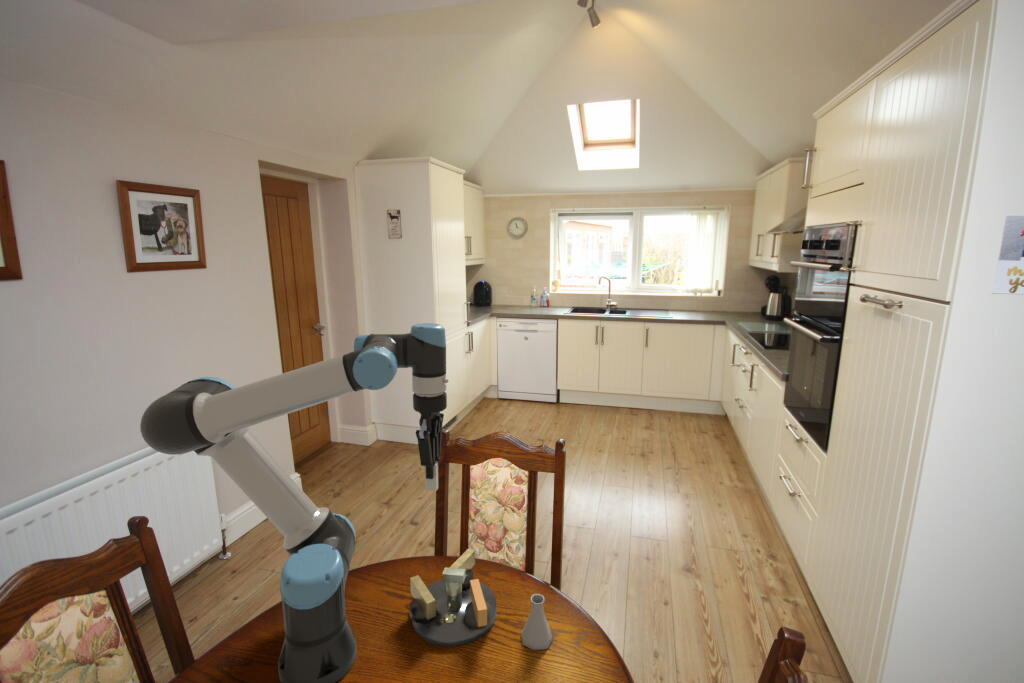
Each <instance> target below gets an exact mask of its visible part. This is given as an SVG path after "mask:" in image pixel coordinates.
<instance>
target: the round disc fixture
mask: <svg viewBox="0 0 1024 683" xmlns="http://www.w3.org/2000/svg"><path fill="white" fill-rule="evenodd" d="M475 565H476V550H475V549H472V548H470V547H469V548H467V549H466V550H465V551H464V552H463V553H462V554H461V555H460V556H459V557H458V558H457V559H456V561H454V562H453V563H452V564H451V565H450V567H447V566H446V567H444V569H443V571H442V574H441V576H442V577H441V579H439V580H437V581H434V582H432V583H430V584H428V585H427V586H426V584H425V583H424V581H423V580H422V578H421V577H420V576H419V575H418V574H417V575H414V576H412V577H409V579H410V584H409V585H410V594H411V595H412V596H411V597H413V599H412V600H411V601H410V602H409V618H410V620H411V623H412V627H413V630H414V632H415V633H416V635H418V636H419V637H420V638H421V639H422V640H423V641H425V642H427V643H429V644H432V645H434V646H438V647H445V648H454V647H463V646H465V645H469V644H471V643H474V642H476V641H478V640H479V639H481V638H483V637H484V636H485V635H486V634H487V633H488V632H489V631H490V630H491V628H492V626H494V623H495V621H496V618H497V600H496V597H495V595H494V592H493V591H492V590H491V588H490V587H489V586H488V585H486V584H485V583H483V582H482V581H479V583H480V586H481V590H482V593H483V597H484V600H485V601H486V602H487V603H489V604H490V606H491V622H490V624H489V625H488V626H486V627H485V628H482V629H473V628H471V627H469V626H468V625H467V624H466V622H465V608H466V606H467V605H468V604H469V603H470V602H472V601H471V597H470V580H474V572H473V569H472V568H473V567H474V566H475Z"/></svg>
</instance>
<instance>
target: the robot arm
mask: <svg viewBox="0 0 1024 683" xmlns="http://www.w3.org/2000/svg"><path fill="white" fill-rule="evenodd" d="M446 341H447V339H446V329H445V327H444V326H443V325H442V324H439V323H433V322H432V323H429V322H428V323H427V322H426V323H416V324H413V325H412V326H411V328H410V332H409V333H394V334H393V333H392V334H391V333H388V334H387V333H386V334H385V333H384V334H382V333H380V334H379V333H377V334H374V333H369V334H360V335H357V336H356V337H354V342H353V351H351V352H348V353H344V354H342V355H338V356H335V357H332V358H328V359H325V360H322V361H319V362H316V363H313V364H309V365H306V366H302V367H300V368H297V369H296V368H295V369H293V370H290V371H289V370H288V371H287V372H283V373H281V374H277V375H274V376H270V377H268V378H264V379H261V380H258V381H255V382H251V383H249V384H244V385H241V386H238V387H235V386H234V384H232V383H230V382H229V381H227V380H225V379H222V378H219V377H216V376H203V377H198V378H195V379H192V380H189V381H187V382H185V383H183V384H181V385H180V386H179V387H177V388H175V389H173V390H171V391H169V392H168V393H166V394H165V395H162V396H160V397H159V398H158V397H157V399H155V400H154V401H152V402H151V403H150V404H149V405H148V407H147V408H145V411H143V414H142V416H141V420H140V425H139V426H140V429H139V430H140V433H141V436H142V438H143V440H144V441H145V443H146V444H147V445H148V446H149V447H150V449H152V450H155V451H156V452H159V453H161V454H165V455H173V456H175V455H183V454H188V453H190V452H194V453H195V454H196V455H197V456H201V457H202V456H203V457H204V456H205V457H206V456H207V457H211V458H212V459H213V461H215V463H216V464H217V465H218V466H219V467H220V468H221V469H222V470H223V472H225V474H226V475H227V476H228V477H229V478H230V479H231V480H232V481H233V482H234V483H235V485H236V486H237V487H238V488H239V489H241V491H242V493H244V494H245V495H246V496H247V498H248V499H249V500H250V501H251V502H252V503H253V504H254V505H255V506H256V507H257V508H258V510H260V511H261V513H262V514H263V515H264V516H265V517H266V518H267V519H268V521H269V522H271V523H272V524H273V526H274V527H275V528H276V529H277V530H278V531H279V533H281V535H282V536H283V537H284V538H283V544H282V547H283V549H285V550H286V552H287V553H288V554H289V555H290V556H289V557H288V558H287V560H286V561H284V564H283V566H282V568H281V572H280V579H279V593H280V595H281V596H280V597H281V605H282V606H281V608H282V616H283V627H284V628H283V629H284V635H285V636H284V640H283V644H282V648H281V651H280V654H279V658H278V662H277V670H278V678H279V681H280V683H337V682H339V681H340V680H341V679H342V678H344V676H345V675H346V674H348V673H349V671H350V670H351V668H352V666H353V665H354V663H355V661H356V658H357V642H356V641H357V640H356V636H355V634H354V632H353V631H352V629H351V626H350V625H349V622H348V621H347V619H346V618H347V616H346V615H347V614H346V601H345V587H346V583H347V579H348V578H347V577H348V574H349V571H350V566H351V564H352V563H351V562H352V558H353V555H354V553H355V550H356V549H355V547H356V530H355V528H354V525H353V523H352V522H351V521H350V520H349V519H348V518H347V516H344V515H342V514H341V513H334V512H331V510H330V509H329V508H328V507H327V506H326V507H318V506H316V504H315V503H314V502H313V501H312V500H311V498H309V496H308V495H307V494H306V493H305V492H304V491H303V489H302V488H301V487H300V486H299V485H298V484H297V483H296V481H295V480H293V479H292V477H291V476H290V475H289V474H288V472H286V469H284V468H283V466H281V465H280V464H279V462H278V460H276V459H275V457H273V455H272V454H271V453H270V452H269V451H268V450H267V449H266V447H265V446H264V445H263V444H262V443H261V442H260V441H259V440H258V437H256V436H255V435H254V434H253V433H252V431H251V430H250V428H249V427H252V426H255V425H257V424H261V423H263V422H267V421H270V420H273V419H276V418H279V417H282V416H285V415H288V414H292V413H294V412H297V411H301V410H304V409H307V408H309V407H313V406H316V405H319V404H323V403H325V402H328V401H331V400H334V399H335V400H336V399H337V398H341V397H344V396H346V395H350V394H352V393H356V392H360V391H363V390H371V391H377V390H382V389H384V388H386V387H387V386H388V385H389V384H391V383H392V381H393V380H394V378H395V376H396V374H397V372H398V369H406V368H407V369H408V368H411V370H412V371H411V372H412V373H411V375H412V376H411V377H412V378H411V379H412V380H411V382H412V383H411V385H412V386H411V387H412V392H413V394H412V404H413V405H412V408H413V410H414V411H415V412H417V413H419V414H420V418H419V426H420V429H416V431H415V436H416V439H417V445H418V453H419V459H420V466H422V467H424V490H425V491H431V492H432V491H434V492H436V491H438V489H439V462H441V461H442V460H443V459H442V458H443V457H441V454H442V443H443V442H442V438H443V422H444V417H445V415H444V413H442V412H443V411H445V410H446V409H447V407H448V406H447V405H448V402H447V397H448V396H447V395H448V394H447V392H446V390H447V384H448V383H449V378H447V342H446Z"/></svg>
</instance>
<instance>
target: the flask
mask: <svg viewBox="0 0 1024 683" xmlns="http://www.w3.org/2000/svg"><path fill="white" fill-rule="evenodd" d="M529 599H530V604H531V606H530V607H531V608H530V610H529V615H528V617H527V619H526V622H525V624H524V626H523V628H522V631H521V633H520V636H521V637H520V638H521V643H522V646H525V647H527V648H529V649H530V650H533V651H540V650H548V648H549V647H550V645H551V643H552V642H553V641H554V639H553V635H552V632H551V629H550V626H549V624H548V620H547V618H546V615H545V609H544V603H545V602H546V599H545V596H544V595H542V594H540V593H533V594H532V595H531V597H530V598H529Z"/></svg>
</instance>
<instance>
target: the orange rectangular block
mask: <svg viewBox="0 0 1024 683" xmlns="http://www.w3.org/2000/svg"><path fill="white" fill-rule="evenodd" d="M473 579H474V578H473ZM479 582H480V580H479V578H475V579H474V580H470V597H471V601H472V602H470V603H469V604H468V605H467V606H466V608H465V622H466V624H467V625H468V626H469V627H471V628H473V629H482V628H485V627H486V626H488V625H489V624H490V622H491V606H490V604H489V603H487V602H486V601H485V600H484V597H483V593H482V590H481V586H480V583H479Z"/></svg>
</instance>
